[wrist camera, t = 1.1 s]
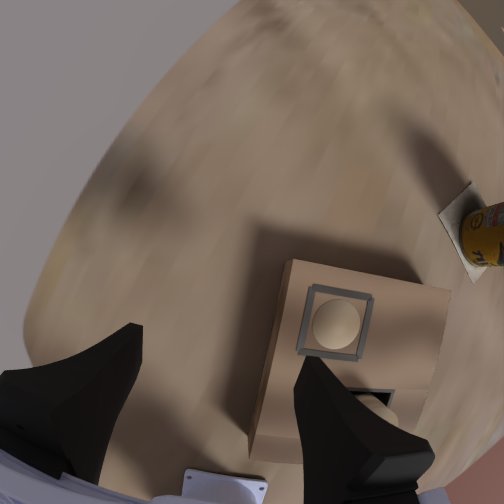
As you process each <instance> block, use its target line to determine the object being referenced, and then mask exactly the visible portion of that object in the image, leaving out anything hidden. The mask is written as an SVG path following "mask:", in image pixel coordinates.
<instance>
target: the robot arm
mask: <svg viewBox="0 0 504 504" xmlns="http://www.w3.org/2000/svg"><path fill="white" fill-rule="evenodd" d="M142 344H143V326H142V325H138V324H134V323H129V324H127V325H125V326H124V327H122V328H121V329H119V330H118V331H116V332H115V333H113V334H112V335H110V336H109V337H107V338H106V339H104V340H102V341H101V342H99V343H97V344H96V345H94V346H92V347H90V348H88V349H87V350H85V351H83V352H81V353H78V354H76V355H74V356H71V357H69V358H66V359H64V360H60V361H57V362H54V363H51V364H47V365H43V366H39V367H33V368H28V369H18V370H5V371H4V372H3V373H2V374H1V375H0V504H262V502H263V499H264V496H265V493H266V490H267V487H268V482H267V481H265V480H258V479H249V478H241V477H234V476H227V475H221V474H215V473H209V472H204V471H199V470H194V469H187V470H186V471H185V475H184V482H183V489H182V496H175V495H162V496H156V497H154V498H153V499H152V500H151V501H150V502H149V501H145V500H142V499H138V498H134V497H131V496H127V495H124V494H121V493H118V492H114V491H111V490H108V489H105V488H103V487H100V486H98V483H99V478H100V473H101V469H102V465H103V461H104V457H105V454H106V450H107V447H108V443H109V440H110V437H111V434H112V431H113V428H114V425H115V422H116V420H117V417H118V415H119V413H120V411H121V409H122V407H123V405H124V403H125V401H126V399H127V397H128V395H129V393H130V391H131V389H132V387H133V385H134V383H135V381H136V378H137V376H138V373H139V370H140V367H141V364H142ZM293 393H294V409H295V415H296V420H297V425H298V430H299V435H300V441H301V446H302V453H303V469H304V504H450V501H449V499H448V496H447V494H446V492H445V490H444V487H440V488H436V489H433V490H429V491H426V492H423V493H421V494H419V495H417V494H416V492H415V490H416V489H418V484H417V482H416V481H417V480H418V479H419V478H420V477H421V476H422V475H423V474H424V473H425V472H426V471H427V470H428V469H429V467H430V466H431V465H432V463H433V461H434V459H435V454H434V452H433V450H432V448H431V446H430V444H429V442H428V441H427V440H426V439H423V438H420V437H418V436H415V435H413V434H410V433H408V432H406V431H404V430H402V429H400V428H398V427H396V426H394V425H393V424H391V423H389V422H388V421H386V420H384V419H383V418H381V417H380V416H378V415H377V414H376V413H374V412H373V411H372V410H370V409H369V408H368V407H367V406H365V405H364V404H363V403H362V402H361V401H359V400H358V399H357V398H356V397H355V396H354V395H353V394H352V393H351V392H350V391H349V390H348V389H347V388H346V387H345V386H344V385H343V384H342V383H341V381H340V380H339V379H338V378H337V377H336V376H335V375H334V373H333V372H332V371H331V370H330V369H329V368H328V366H327V365H326V364H325V363H324V362H323V361H322V359H321V358H320V357H316V356H307V355H306V357H305V360H304V362H303V365H302V368H301V370H300V373H299V375H298V378H297V380H296V383H295V385H294V388H293ZM188 476H191V478H190V477H188ZM260 487H264V488H260Z"/></svg>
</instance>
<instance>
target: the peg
mask: <svg viewBox="0 0 504 504" xmlns="http://www.w3.org/2000/svg"><path fill="white" fill-rule="evenodd" d="M352 394H353V395H354V396H355V397H356V398H357V399H358V400H359V401H361V402H362V403H363V404H364V405H365V406H367V407H368V408H369V409H370V410H372V411H373V412H374V413H376V414H377V415H378V416H380V417H381V418H383V419H384V420H386V421H388V422H389V423H391V424H393V425H394V426H396V427H398V418H397V416H396V414H395V413H394V412H392V411H391V410H390V409H389V408H388V407H386V406H385V405H384V404H383V403H382V402H381V401H379V400H378V399H377V398H376V397H375V396H374V395H372V394H371V393H369V392H362V391H359V392H355V393H352Z"/></svg>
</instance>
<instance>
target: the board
mask: <svg viewBox="0 0 504 504" xmlns="http://www.w3.org/2000/svg"><path fill="white" fill-rule="evenodd" d="M450 296H451V290H447V289H442V288H437V287H432V286H427V285H422V284H417V283H412V282H407V281H402V280H397V279H392V278H387V277H382V276H377V275H372V274H367V273H362V272H357V271H352V270H347V269H342V268H337V267H332V266H327V265H322V264H317V263H312V262H307V261H302V260H297V259H291V260H288V261H285V265H284V271H283V276H282V281H281V286H280V291H279V296H278V301H277V306H276V311H275V316H274V321H273V326H272V331H271V335H270V340H269V345H268V350H267V354H266V359H265V364H264V368H263V373H262V377H261V382H260V386H259V390H258V395H257V399H256V404H255V408H254V412H253V416H252V421H251V425H250V429H249V433H248V450H249V460H257V461H266V462H276V463H289V464H303V453H302V446H301V441H300V435H299V430H298V425H297V420H296V415H295V409H294V393H293V388H294V385H295V383H296V380H297V378H298V375H299V373H300V370H301V368H302V365H303V362H304V360H305V357H306V355H307V356H316V357H320V358H321V359H322V361H323V362H324V363H325V364H326V365H327V366H328V368H329V369H330V370H331V371H332V372H333V373H334V375H335V376H336V377H337V378H338V379H339V380H340V381H341V383H342V384H343V385H344V386H345V387H346V388H347V389H348V390H349V391H362V392H371V394H372V395H374V396H375V397H376V398H377V399H378V400H379V401H381V402H382V403H383V404H384V405H385V406H386V407H388V408H389V409H390V410H391V411H392V412H394V413H395V414H396V416H397V418H398V428H400V429H402V430H404V431H406V432H408V433H410V434H413V433H414V431H415V428H416V426H417V423H418V420H419V417H420V415H421V412H422V409H423V406H424V403H425V400H426V397H427V394H428V391H429V387H430V384H431V381H432V377H433V374H434V370H435V366H436V363H437V359H438V355H439V351H440V347H441V342H442V338H443V333H444V329H445V324H446V319H447V313H448V308H449V302H450Z"/></svg>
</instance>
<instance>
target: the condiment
mask: <svg viewBox="0 0 504 504" xmlns="http://www.w3.org/2000/svg"><path fill="white" fill-rule="evenodd" d="M438 216H439V218H440V219H441V221H442V222H443V224H444V227H445V228H446V230H447V231H448V233H449V235H450V237H451V239H452V241H453V243H454V245H455V247H456V249H457V252H458V254H459V256H460V258H461V260H462V262H463V264H464V266H465V268H466V271H467V272H468V275H469V277H470V279H471V281H472V283H473V284H474V283H475V282H476V280H477V279H478V278H479V277H480V276H481V274H482V273H483V272H484V270H485V269H486V268H487V267H491V266H504V202H502V203H498V204H495V205H492V206H489V207H486V205H485V203H484V201H483V199H482V197H481V195H480V193H479V191H478V189H477V187H476V185H475V184H474V182H472V183H471V184H470V185H469V186H468V187H467V188H466V189H465V190H464V191H463V192H462V193H461V194H460V195H459V196H458V197H457V198H456V199H455V200H454V201H452V202H451V203H450V204H449V205H448V206H447V207H446V208H445V209H444V210H443V211H442V212H441V213H440V214H439V215H438ZM458 219H459V223H458V221H457V220H458ZM458 224H459V226H458Z"/></svg>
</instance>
